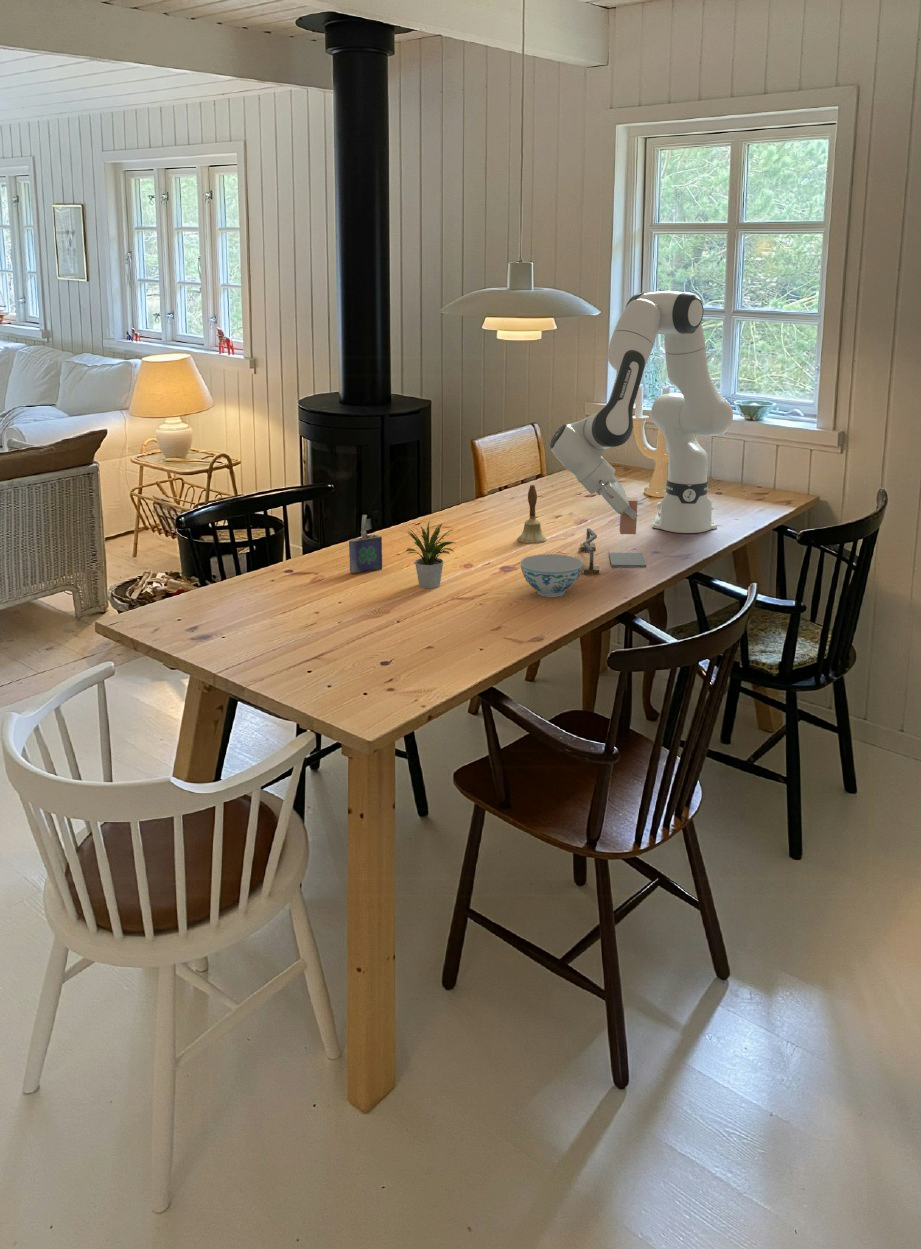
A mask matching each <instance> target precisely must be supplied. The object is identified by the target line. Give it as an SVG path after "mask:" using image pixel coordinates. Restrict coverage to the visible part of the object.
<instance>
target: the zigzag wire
mask: <svg viewBox="0 0 921 1249" xmlns="http://www.w3.org/2000/svg"><path fill="white" fill-rule="evenodd" d="M597 538H598V535H597V534H596V533H595V532H594V531H593V530H592V529H591V528H590V527H587V528H586V539H585V541H584V542H583V543H580V545H579V546H580V547H581V548H580V552H589V565H582V571H583V575H600V565H594V559H595V556H594V555H595V554H594V553H595V551H596V549H597V548H596V543H592V542H593V541H595V540H596V539H597Z"/></svg>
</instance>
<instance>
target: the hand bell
mask: <svg viewBox="0 0 921 1249" xmlns="http://www.w3.org/2000/svg"><path fill="white" fill-rule="evenodd" d="M537 500H538V494H537V489H536V486H535V484H531V485H530V486H529V488H528V492H527V502H528V505H529V519H527V520H525V521H524V526H523V530H522V532H521V534H520V535H519V536H518V538H517V540H518V542H520V543H524V544H528V545H529V544H533V545H534V544H542V543H545V542H546V541H547V537H546V536H545V534H543V532H542V527H541V521H540V520H538V519H537V517H536V504H537Z"/></svg>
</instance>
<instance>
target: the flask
mask: <svg viewBox="0 0 921 1249" xmlns="http://www.w3.org/2000/svg"><path fill="white" fill-rule="evenodd" d="M360 536H361V537H357V538H351V539H349V541H348V548H349V549H348V551H349V552H348V553H349V554H348V555H349V574H351V575H359V574H358V573H360V574H365V573H370V572H375V571H376V572H377V571H381V570H383V541H382V540H383V537H382V536H381V535H378V534H368V533H367V530H362V531H361V535H360ZM369 571H370V572H369Z"/></svg>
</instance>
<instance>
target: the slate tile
mask: <svg viewBox="0 0 921 1249" xmlns="http://www.w3.org/2000/svg"><path fill="white" fill-rule="evenodd" d="M644 556H645V555H644V554H643V552H611V551H610V552H608V557H609V561H610V567H611V568H647V564H646V563H647V562H646V559H645V557H644Z"/></svg>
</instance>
